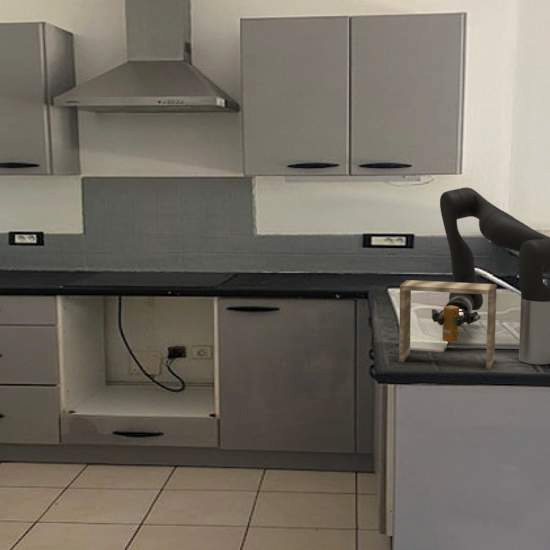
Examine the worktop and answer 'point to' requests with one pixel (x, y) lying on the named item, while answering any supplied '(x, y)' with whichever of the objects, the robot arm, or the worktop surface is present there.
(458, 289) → the shelf bay
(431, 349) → the tile pad
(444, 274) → the worktop surface
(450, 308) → the supplement box
